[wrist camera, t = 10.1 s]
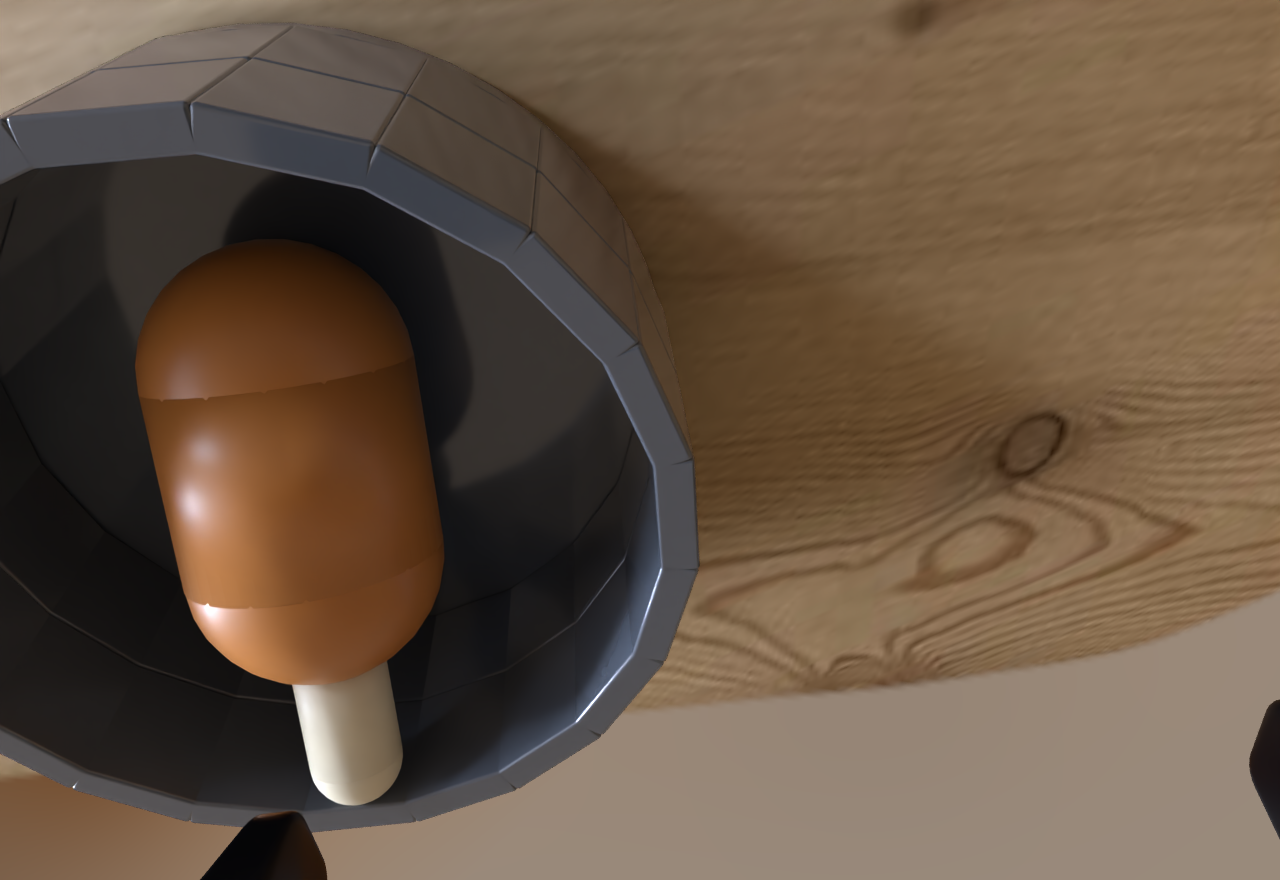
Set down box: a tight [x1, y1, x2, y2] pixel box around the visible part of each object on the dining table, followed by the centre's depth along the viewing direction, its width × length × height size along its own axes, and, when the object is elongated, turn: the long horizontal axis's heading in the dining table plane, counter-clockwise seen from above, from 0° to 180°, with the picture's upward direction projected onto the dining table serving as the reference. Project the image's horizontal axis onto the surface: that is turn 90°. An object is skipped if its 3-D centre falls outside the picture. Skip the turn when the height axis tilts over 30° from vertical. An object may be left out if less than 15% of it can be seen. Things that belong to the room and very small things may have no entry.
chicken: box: [135, 239, 444, 806], centre depth 16 cm, size 10×4×4 cm, turn 6°
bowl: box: [0, 23, 700, 833], centre depth 16 cm, size 13×13×6 cm
